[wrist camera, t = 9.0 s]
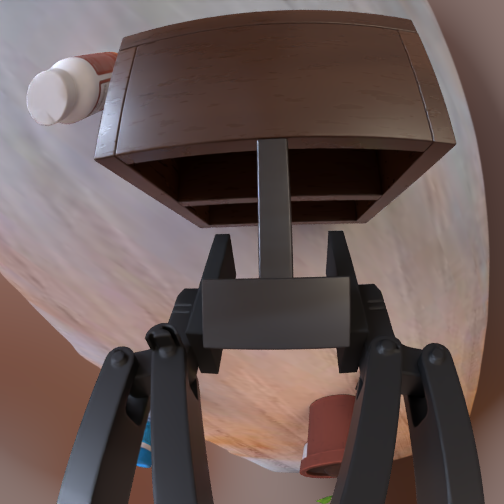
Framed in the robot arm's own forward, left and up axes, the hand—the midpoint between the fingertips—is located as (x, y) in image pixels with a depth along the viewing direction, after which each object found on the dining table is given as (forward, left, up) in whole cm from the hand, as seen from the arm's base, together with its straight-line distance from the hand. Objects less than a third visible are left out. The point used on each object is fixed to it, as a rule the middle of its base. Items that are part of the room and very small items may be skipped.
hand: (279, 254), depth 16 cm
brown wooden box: (-7, 0, -10) cm, 12 cm away
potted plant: (+57, +13, -18) cm, 62 cm away
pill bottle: (-11, -17, -18) cm, 27 cm away
